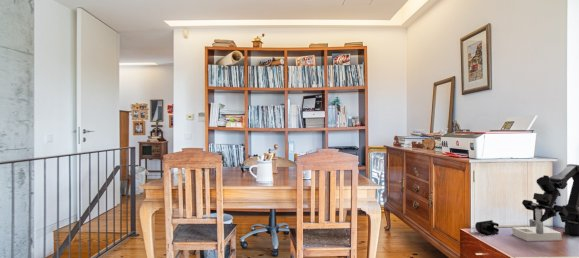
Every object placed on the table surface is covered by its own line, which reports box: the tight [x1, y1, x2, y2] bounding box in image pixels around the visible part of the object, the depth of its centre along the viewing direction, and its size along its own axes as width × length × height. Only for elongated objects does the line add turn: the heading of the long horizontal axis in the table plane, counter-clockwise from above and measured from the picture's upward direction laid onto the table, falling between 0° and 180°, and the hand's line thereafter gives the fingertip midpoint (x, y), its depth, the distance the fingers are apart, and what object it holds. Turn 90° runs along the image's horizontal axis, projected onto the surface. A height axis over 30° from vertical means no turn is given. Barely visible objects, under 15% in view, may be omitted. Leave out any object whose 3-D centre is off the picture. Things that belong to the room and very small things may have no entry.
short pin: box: [528, 218, 536, 227], centre depth 177 cm, size 3×3×7 cm
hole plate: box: [511, 226, 563, 242], centre depth 168 cm, size 18×11×4 cm, turn 89°
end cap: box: [474, 219, 500, 237], centre depth 177 cm, size 10×7×7 cm
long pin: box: [535, 208, 544, 234], centre depth 159 cm, size 3×3×12 cm
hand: (537, 220), depth 159 cm, fingers closed on long pin, 3 cm apart
